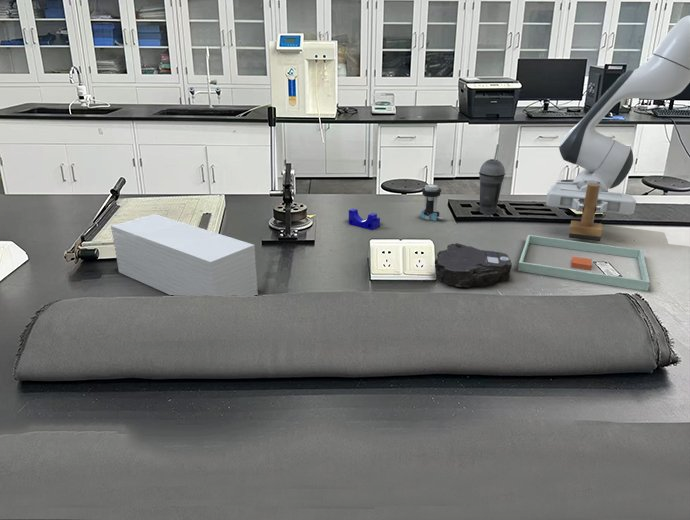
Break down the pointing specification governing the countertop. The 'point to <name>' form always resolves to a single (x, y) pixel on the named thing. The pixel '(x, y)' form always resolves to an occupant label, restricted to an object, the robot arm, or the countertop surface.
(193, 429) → the countertop surface
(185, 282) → the stack of papers
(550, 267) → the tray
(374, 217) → the cable holder
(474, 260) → the rock sample
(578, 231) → the brush
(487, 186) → the beverage cup
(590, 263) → the felt chip
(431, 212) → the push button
